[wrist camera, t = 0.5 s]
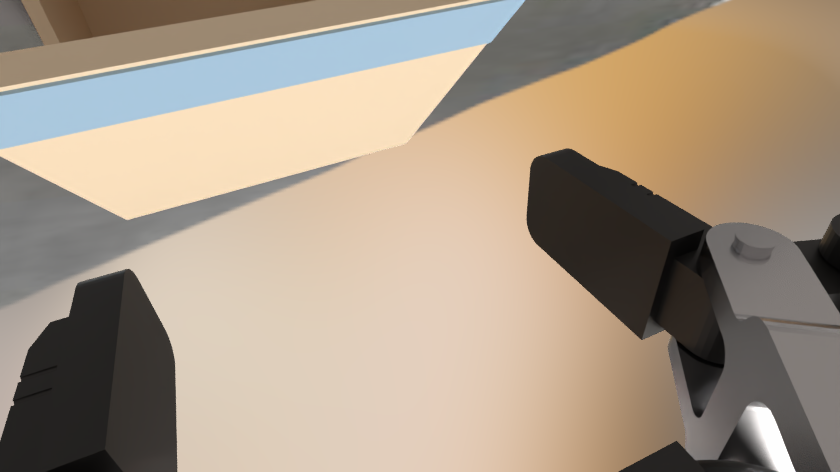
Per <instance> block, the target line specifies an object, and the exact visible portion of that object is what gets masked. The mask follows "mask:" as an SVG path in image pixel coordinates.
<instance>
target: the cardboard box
mask: <svg viewBox="0 0 840 472" xmlns="http://www.w3.org/2000/svg"><path fill="white" fill-rule="evenodd" d="M21 1H22V3H23V5H24V7H25V9H26V11H27V13H28V14H29V16H30V18H31V20H32V22H33V24H34V26H35V28H36V30H37V32H38V34H39V36H40V38H41V40H42V41H43V43H44V45H51V44H57V43H63V42H69V41H75V40H81V39H87V38H93V37H99V36H105V35H111V34H117V33H123V32H129V31H135V30H141V29H147V28H153V27H159V26H165V25H171V24H177V23H183V22H189V21H195V20H201V19H207V18H213V17H219V16H225V15H231V14H237V13H243V12H249V11H255V10H261V9H267V8H273V7H279V6H285V5H291V4H297V3H303V2H309V1H315V0H21Z"/></svg>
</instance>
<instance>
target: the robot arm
mask: <svg viewBox="0 0 840 472" xmlns="http://www.w3.org/2000/svg"><path fill="white" fill-rule="evenodd" d="M527 226H528V229H529V232H530V235H531V237H532V238H533V240H534V241H535V243H536V244H537V245H538V246H539V247H541V248H542V249H543V250H544V251H545V252H546V253H547V254H548V255H549V256H550V257H551V258H553V259H554V260H555V261H556V262H557V263H558V264H559V265H560V266H561V267H562V268H564V269H565V270H566V271H567V272H568V273H569V274H570V275H571V276H572V277H574V279H576V280H577V281H578V282H579V283H580V284H581V285H582V286H583V287H584V288H585V289H586V290H588V291H589V292H590V293H591V294H592V295H593V296H594V297H595V298H596V299H597V300H598V301H600V302H601V303H602V304H603V305H604V306H605V307H606V308H607V309H608V310H610V311H611V312H612V313H613V314H614V315H615V316H616V317H617V318H618V319H619V320H620V321H621V322H623V323H624V324H625V325H626V326H627V327H628V328H629V329H630V330H631V331H632V332H634V333H635V334H636V335H637V336H638V337H639V338H640V339H641V340H643V339H645V338H648V337H650V336H652V335H654V334H657V333H659V332H661V331H663V330H666V331H667V332H668V333H669V334H670V335H671V337H670V340H669V343H668V352H669V357H670V361H671V365H672V371H673V375H674V379H675V385H676V389H677V394H678V399H679V403H680V408H681V412H682V417H683V422H684V426H685V434H686V444H685V449H684V448H683V447H682V446H681V445H680V444H679V443H678V442H677V441H676V442H674V443H672V444H670V445H668V446H666V447H664V448H662V449H660V450H658V451H657V452H655V453H653V454H651V455H649V456H647V457H645V458H643V459H642V460H640V461H638V462H636V463H634V464H632V465H630V466H628V467H626V468H625V469H623V470H621V471H619V472H840V214H839V215H837V216H835V217H834V218H833V219H832V221H831V223H830V225H829V227H828V229H827V231H826V233H825V235H824V236H823V238H822V239H819V240H809V241H797V242H792V241H791V240H790V239H788V238H787V237H785V236H783V235H782V234H780V233H778V232H775V231H773V230H771V229H768V228H765V227H761V226H758V225H753V224H748V223H724V224H719V225H716V226H714V227H712V226H710V225H708V224H707V223H705V222H703V221H701V220H699V219H698V218H696V217H695V216H693V215H691V214H690V213H688V212H686V211H684V210H683V209H681V208H679V207H678V206H676V205H674V204H673V203H671V202H669V201H667V200H666V199H664V198H662V197H661V196H659V195H657V194H656V195H653V192H652V191H651V190H649V189H647V188H645V187H644V186H642V185H639V186H638V185H637V182H635V181H634V180H632V179H630V178H628V177H627V176H625V175H623V174H622V173H620V172H618V171H615V170H612V169H609V168H605V167H602V166H599V165H597V164H596V163H594V162H592V161H591V160H589V159H587V158H586V157H584V156H582V155H581V154H579V153H577V152H576V151H574V150H572V149H563V150H559V151H556V152H552V153H548V154H545V155H541V156H538V157H536V158H535V159H534V160H533V162H532V164H531V168H530V181H529V193H528V206H527ZM20 377H21V382H19V383H18V385H17V389H16V392H15V395H14V398H13V401H14V406H11V408H10V411H9V414H8V418H7V421H6V424H5V427H4V431H3V434H2V437H1V440H0V472H177V435H176V387H175V360H174V354H173V350H172V346H171V343H170V340H169V337H168V335H167V333H166V330H165V329H164V327H163V325H162V323H161V321H160V319H159V317H158V315H157V314H156V312H155V310H154V308H153V306H152V304H151V302H150V301H149V299H148V297H147V295H146V293H145V291H144V289H143V288H142V286H141V284H140V282H139V280H138V278H137V277H136V275H135V274H134V273H133V271H131V270H130V269H125V270H122V271H118V272H115V273H111V274H107V275H104V276H100V277H97V278H93V279H89V280H86V281H83V282H79V283H78V284H77V286H76V289H75V293H74V297H73V302H72V306H71V310H70V314H69V317H67V318H63V319H60V320H57V321H53V322H50V323H49V325H48V326H47V327H46V328H45V330H44V331H43V332H42V333H41V335H40V336H39V337H38V338H37V340H36V341H35V342H34V343H33V345H32V346H31V347H30V348H29V350H28V353H27V356H26V359H25V362H24V366H23V369H22V372H21V375H20Z"/></svg>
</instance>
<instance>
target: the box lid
mask: <svg viewBox="0 0 840 472" xmlns="http://www.w3.org/2000/svg"><path fill="white" fill-rule="evenodd" d="M524 1H525V0H315V1H309V2H303V3H297V4H291V5H285V6H279V7H273V8H267V9H261V10H255V11H249V12H243V13H237V14H231V15H225V16H219V17H213V18H207V19H201V20H195V21H189V22H183V23H177V24H171V25H165V26H159V27H153V28H147V29H141V30H135V31H129V32H123V33H117V34H111V35H105V36H99V37H93V38H87V39H81V40H75V41H69V42H63V43H57V44H51V45H45V46H39V47H33V48H27V49H21V50H15V51H10V52H4V53H0V156H1V157H3V158H5V159H7V160H9V161H11V162H13V163H15V164H17V165H19V166H21V167H23V168H25V169H27V170H29V171H31V172H33V173H35V174H37V175H39V176H41V177H43V178H45V179H47V180H49V181H51V182H53V183H54V184H56V185H58V186H60V187H62V188H64V189H66V190H68V191H70V192H72V193H74V194H76V195H78V196H80V197H82V198H84V199H86V200H88V201H90V202H92V203H94V204H96V205H98V206H100V207H102V208H104V209H106V210H108V211H110V212H112V213H114V214H116V215H118V216H120V217H122V218H124V219H126V220H129V219H132V218H136V217H140V216H143V215H147V214H151V213H154V212H158V211H162V210H165V209H169V208H173V207H176V206H180V205H184V204H187V203H191V202H195V201H198V200H202V199H205V198H209V197H213V196H216V195H220V194H224V193H227V192H231V191H235V190H238V189H242V188H246V187H249V186H253V185H257V184H260V183H264V182H268V181H271V180H275V179H279V178H282V177H286V176H290V175H293V174H297V173H301V172H304V171H308V170H312V169H315V168H319V167H323V166H326V165H330V164H334V163H337V162H341V161H345V160H348V159H352V158H355V157H359V156H363V155H366V154H370V153H374V152H377V151H381V150H385V149H388V148H392V147H396V146H399V145H403V144H406V143H407V142H408V141H409V139H410V138H411V137H412V136H413V134H414V133H415V132H416V131H417V129H418V128H419V127H420V126H421V125H422V123H423V122H424V121H425V120H426V118H427V117H428V116H429V115H430V113H431V112H432V111H433V110H434V108H435V107H436V106H437V105H438V103H439V102H440V101H441V100H442V99H443V97H444V96H445V95H446V94H447V92H448V91H449V90H450V89H451V87H452V86H453V85H454V84H455V82H456V81H457V80H458V79H459V77H460V76H461V75H462V74H463V73H464V71H465V70H466V69H467V68H468V66H469V65H470V64H471V63H472V61H473V60H474V59H475V58H476V56H477V55H478V54H479V53H480V52H481V50H482V49H483V48H484V47H485V45H486V44H487V43H491V41H492V40H493V39H494V38H495V37H496V35H497V34H498V33H499V32H500V30H501V29H502V28H503V27H504V26H505V24H506V23H507V22H508V21H509V19H510V18H511V17H512V16H513V15H514V13H515V12H516V11H517V10H518V8H519V7H520V6H521V5H522V4H523V2H524Z"/></svg>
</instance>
